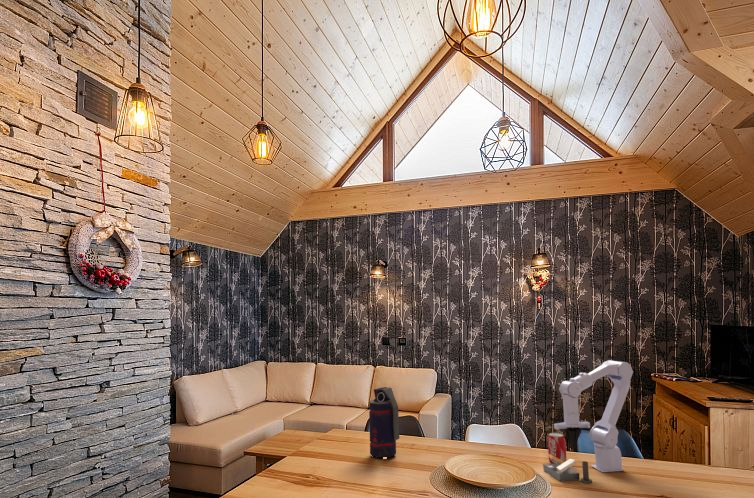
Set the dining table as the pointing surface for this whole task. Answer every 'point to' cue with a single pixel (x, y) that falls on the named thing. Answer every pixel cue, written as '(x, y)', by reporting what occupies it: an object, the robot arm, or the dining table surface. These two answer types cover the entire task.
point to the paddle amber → (555, 459)
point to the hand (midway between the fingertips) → (573, 447)
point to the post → (585, 473)
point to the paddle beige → (566, 465)
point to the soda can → (557, 446)
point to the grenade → (383, 423)
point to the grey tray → (561, 476)
